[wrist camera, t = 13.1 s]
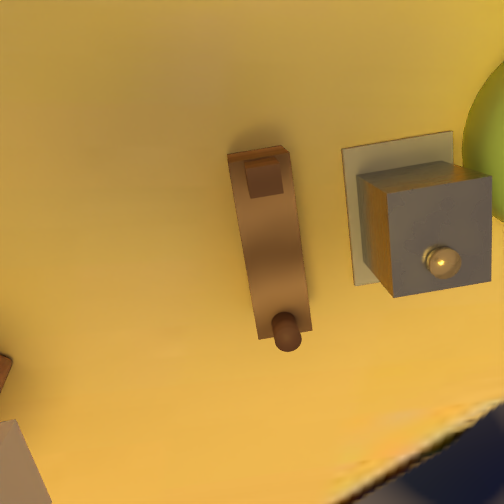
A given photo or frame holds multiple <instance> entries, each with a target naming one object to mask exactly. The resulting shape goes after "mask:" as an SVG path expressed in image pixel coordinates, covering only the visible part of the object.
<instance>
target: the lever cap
mask: <svg viewBox="0 0 504 504" xmlns="http://www.w3.org/2000/svg"><path fill="white" fill-rule="evenodd" d="M356 184H357V196H358V207H359V219H360V231H361V243H362V254H363V262H364V263H365V265H366V266H367V267H368V268H369V269H370V270H371V272H372V273H373V274H374V275H375V276H376V278H377V279H378V280H379V281H380V282H381V284H382V285H383V286H384V287H385V288H386V290H387V291H388V292H389V293H390V294H391V295H392V297H393V298H396V297H402V296H408V295H413V294H419V293H425V292H431V291H437V290H443V289H449V288H455V287H460V286H466V285H472V284H478V283H484V282H490V281H491V248H492V176H491V175H487V174H484V173H481V172H478V171H474V170H471V169H468V168H464V167H461V166H458V165H455V164H451V163H448V162H445V161H435V162H429V163H423V164H417V165H411V166H406V167H400V168H394V169H388V170H382V171H376V172H370V173H364V174H358V175H356Z"/></svg>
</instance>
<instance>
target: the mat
mask: <svg viewBox="0 0 504 504" xmlns="http://www.w3.org/2000/svg"><path fill="white" fill-rule="evenodd" d="M341 150H342V161H343V171H344V182H345V193H346V204H347V214H348V225H349V236H350V246H351V257H352V268H353V278H354V285H355V286H360V285H366V284H372V283H378V282H380V281H379V280H378V279H377V278H376V276H375V275H374V274H373V273H372V272H371V270H370V269H369V268H368V267H367V266H366V265H365V263H364V262H363V254H362V243H361V231H360V219H359V207H358V196H357V184H356V175H358V174H364V173H370V172H376V171H382V170H388V169H394V168H400V167H406V166H411V165H417V164H423V163H429V162H435V161H445V162H448V163H451V164H453V131H447V132H441V133H435V134H429V135H423V136H417V137H411V138H405V139H399V140H393V141H387V142H381V143H375V144H369V145H363V146H357V147H351V148H345V149H341Z"/></svg>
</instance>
